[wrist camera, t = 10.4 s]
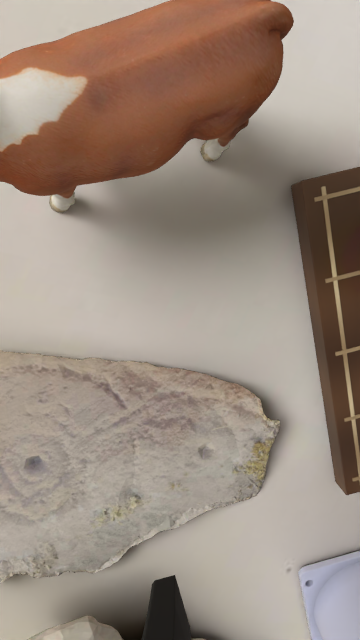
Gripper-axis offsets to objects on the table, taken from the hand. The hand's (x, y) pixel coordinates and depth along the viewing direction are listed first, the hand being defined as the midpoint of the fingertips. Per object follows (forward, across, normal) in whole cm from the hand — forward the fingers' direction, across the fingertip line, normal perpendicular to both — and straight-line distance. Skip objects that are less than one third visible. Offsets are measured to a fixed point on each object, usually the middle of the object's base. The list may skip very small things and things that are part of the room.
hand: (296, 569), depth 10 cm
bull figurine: (+10, +3, -15) cm, 18 cm away
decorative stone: (+10, +8, 0) cm, 12 cm away
